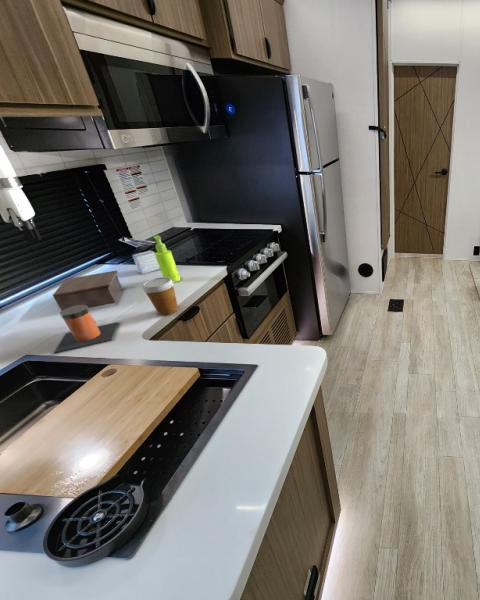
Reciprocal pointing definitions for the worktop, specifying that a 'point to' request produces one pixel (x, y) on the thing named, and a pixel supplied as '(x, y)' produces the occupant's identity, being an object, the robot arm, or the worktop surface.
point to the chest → (91, 296)
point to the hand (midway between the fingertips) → (34, 240)
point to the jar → (80, 322)
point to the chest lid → (85, 283)
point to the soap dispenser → (166, 261)
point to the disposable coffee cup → (161, 294)
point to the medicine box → (146, 261)
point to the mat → (71, 343)
